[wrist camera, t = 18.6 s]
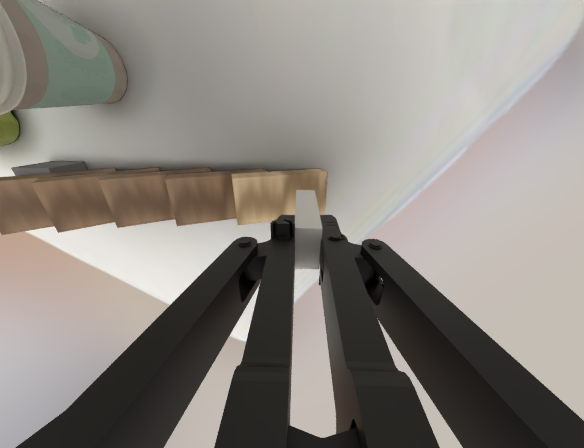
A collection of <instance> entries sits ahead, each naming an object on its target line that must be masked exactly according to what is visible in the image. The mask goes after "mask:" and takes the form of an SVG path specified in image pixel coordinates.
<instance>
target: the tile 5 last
mask: <svg viewBox="0 0 584 448" xmlns="http://www.w3.org/2000/svg"><path fill="white" fill-rule="evenodd" d="M113 171H117V170H116V168H111V169H99V170H86V171H74V172H61V173H49V174H36V175H24V176H11V177H0V232H1V234H2V235H4V234H11V233H16V232H23V231H28V230H34V229H40V228H46V227H52V226H54V224H53V222H52V220H51V219H50V217H49V215H48V213H47V211H46V210H45V208H44V206H43V204H42V202H41V201H40V199H39V197H38V195H37V193H36V192H35V190H34V188H33V186H32V184H31V183H32V182H33V181H35V180H37V179H38V178H49V177H59V176H70V175H81V174H92V173H103V172H113Z"/></svg>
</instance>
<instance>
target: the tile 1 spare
mask: <svg viewBox="0 0 584 448" xmlns="http://www.w3.org/2000/svg"><path fill="white" fill-rule="evenodd" d="M231 175H232V183H233V191H234V199H235V207H236V215H237V222H238V225H243V224H251V223H260V222H268V221H274V220H276V219H278V217H279V216H280V215H295V207H296V190H315V194H316V199H317V204H318V209H319V214H320V215H324V211H325V198H326V185H327V172H326V171H324V170H322V169H305V170H289V171H272V172H255V173H238V174H231Z"/></svg>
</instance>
